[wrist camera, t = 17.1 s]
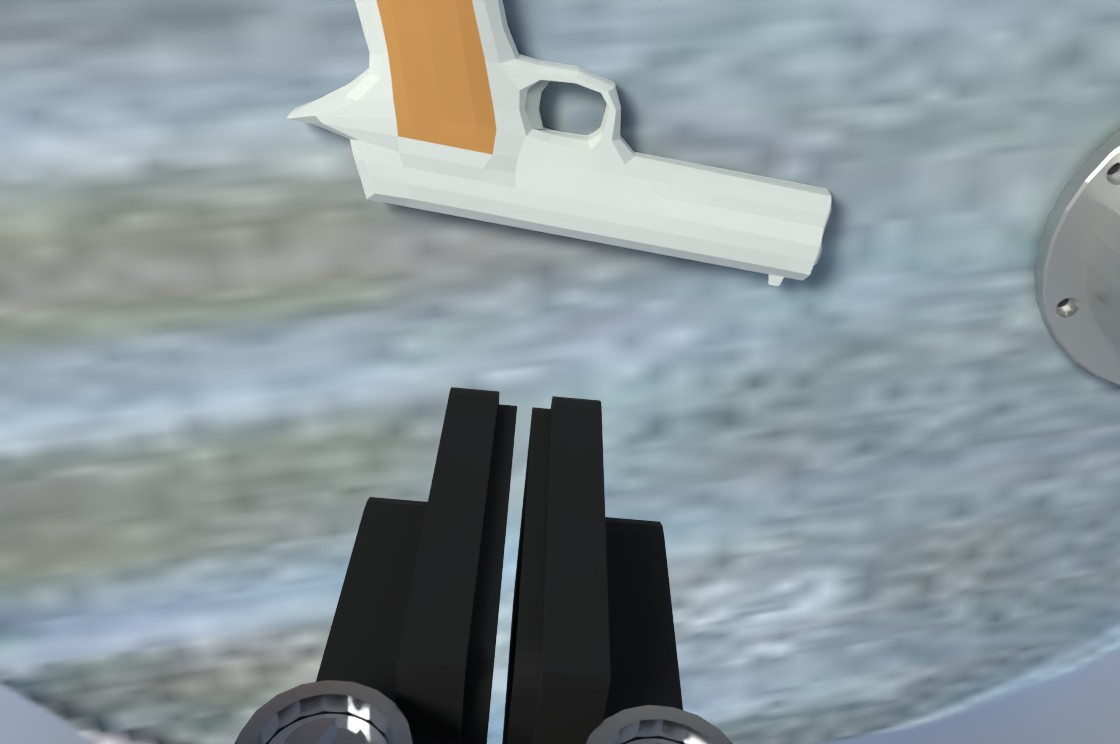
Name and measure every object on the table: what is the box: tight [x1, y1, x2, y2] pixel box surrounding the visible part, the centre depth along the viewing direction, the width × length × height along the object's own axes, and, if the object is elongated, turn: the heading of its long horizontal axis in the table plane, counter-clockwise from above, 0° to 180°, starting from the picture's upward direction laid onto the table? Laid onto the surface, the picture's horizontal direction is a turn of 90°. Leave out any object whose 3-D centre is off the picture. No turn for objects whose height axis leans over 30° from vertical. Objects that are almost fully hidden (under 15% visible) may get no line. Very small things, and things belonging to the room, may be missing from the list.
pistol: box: [287, 0, 832, 286], centre depth 36 cm, size 2×20×11 cm
